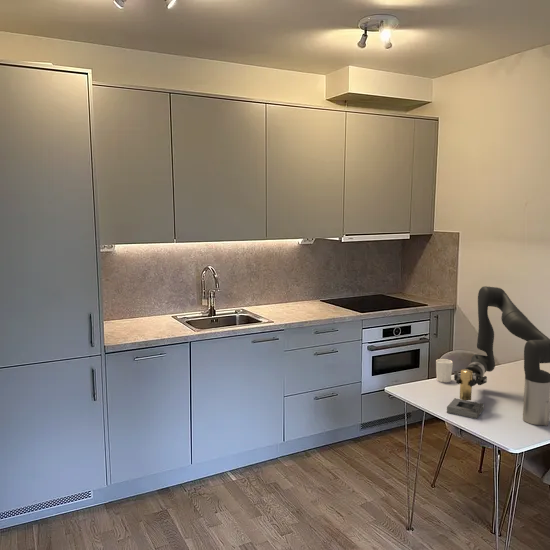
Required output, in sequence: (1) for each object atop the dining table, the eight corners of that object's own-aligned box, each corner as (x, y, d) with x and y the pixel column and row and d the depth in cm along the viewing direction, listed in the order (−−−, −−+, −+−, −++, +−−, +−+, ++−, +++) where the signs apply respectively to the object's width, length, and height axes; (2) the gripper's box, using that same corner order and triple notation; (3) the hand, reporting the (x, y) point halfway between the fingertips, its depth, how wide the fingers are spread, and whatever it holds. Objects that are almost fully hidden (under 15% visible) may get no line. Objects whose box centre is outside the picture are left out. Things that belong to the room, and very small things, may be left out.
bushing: (472, 397, 212) (473, 370, 210) (469, 401, 208) (471, 373, 206) (461, 395, 214) (462, 368, 213) (458, 398, 211) (459, 371, 209)
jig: (483, 409, 213) (483, 403, 213) (476, 418, 203) (476, 413, 203) (454, 403, 220) (454, 398, 219) (446, 412, 210) (446, 406, 210)
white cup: (432, 379, 253) (432, 359, 252) (444, 377, 256) (445, 358, 255) (442, 383, 246) (443, 364, 245) (455, 381, 249) (456, 362, 247)
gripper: (458, 361, 225) (447, 371, 211) (492, 366, 217) (483, 377, 203) (457, 377, 226) (446, 388, 212) (491, 383, 218) (482, 395, 204)
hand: (464, 383), depth 208 cm, fingers closed on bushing, 4 cm apart
